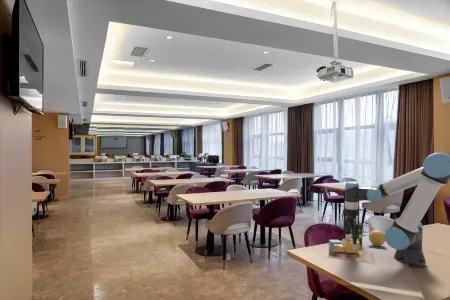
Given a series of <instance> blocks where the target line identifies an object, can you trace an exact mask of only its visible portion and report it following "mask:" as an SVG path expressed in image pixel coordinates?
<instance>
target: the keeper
mask: <svg viewBox="0 0 450 300" xmlns="http://www.w3.org/2000/svg"><path fill="white" fill-rule="evenodd" d="M342 243H343V241H341V240H339V239H329V240H328V253H329V252H330V253H334V245H342Z"/></svg>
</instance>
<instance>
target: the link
mask: <svg viewBox="0 0 450 300" xmlns="http://www.w3.org/2000/svg"><path fill="white" fill-rule="evenodd" d="M360 248H361V247H360V242H358V241H357V250H352V239H346V238H342V244H334V250H335V251H336V252H347V253H360V251H361V249H360Z"/></svg>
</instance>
